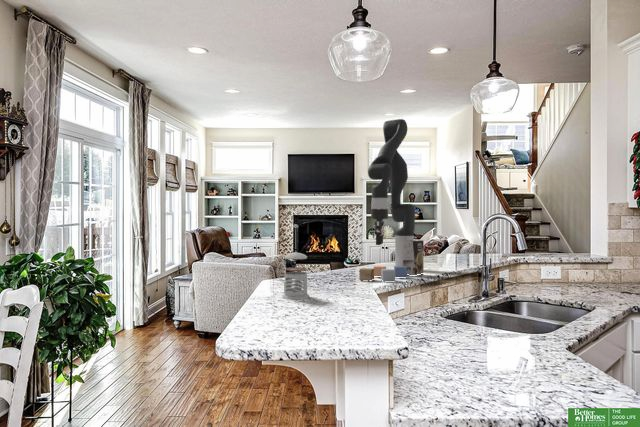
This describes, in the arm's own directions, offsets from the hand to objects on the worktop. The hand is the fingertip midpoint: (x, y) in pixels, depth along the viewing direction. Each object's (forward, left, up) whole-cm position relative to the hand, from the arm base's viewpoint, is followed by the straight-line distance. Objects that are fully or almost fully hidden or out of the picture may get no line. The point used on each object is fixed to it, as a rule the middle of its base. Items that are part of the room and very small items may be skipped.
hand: (379, 244), depth 201 cm
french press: (+53, -24, -15) cm, 60 cm away
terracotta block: (0, 0, -15) cm, 15 cm away
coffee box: (-9, +15, -15) cm, 23 cm away
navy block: (0, +9, -15) cm, 17 cm away
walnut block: (+11, -4, -15) cm, 19 cm away
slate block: (+11, +5, -15) cm, 19 cm away
